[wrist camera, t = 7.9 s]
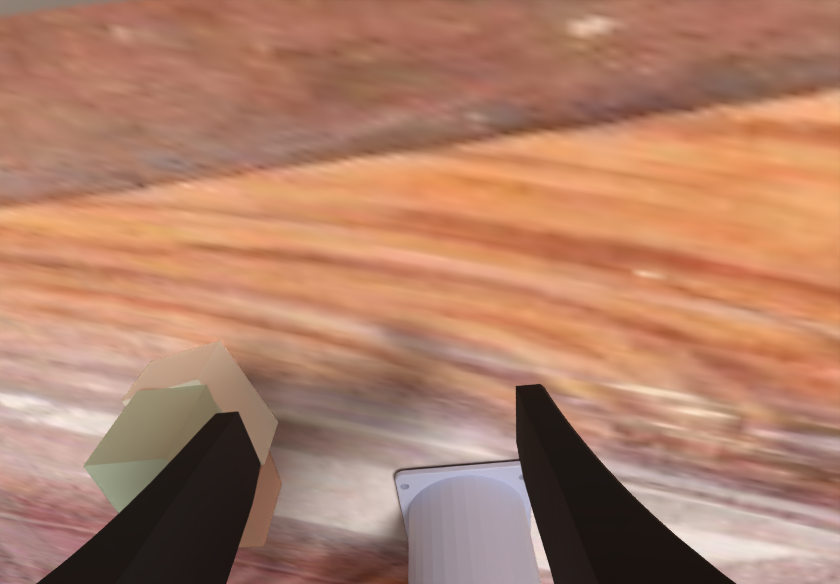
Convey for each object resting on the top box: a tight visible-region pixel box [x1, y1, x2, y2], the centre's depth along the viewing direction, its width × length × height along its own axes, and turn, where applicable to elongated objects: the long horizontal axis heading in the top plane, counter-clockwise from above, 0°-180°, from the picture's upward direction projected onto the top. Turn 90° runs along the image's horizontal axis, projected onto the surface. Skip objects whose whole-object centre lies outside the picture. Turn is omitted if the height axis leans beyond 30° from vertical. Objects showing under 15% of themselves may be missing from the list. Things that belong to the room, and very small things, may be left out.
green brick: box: [84, 384, 220, 514], centre depth 21 cm, size 6×3×4 cm, turn 7°
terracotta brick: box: [238, 451, 282, 548], centre depth 27 cm, size 6×3×4 cm, turn 95°
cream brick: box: [121, 340, 278, 465], centre depth 24 cm, size 6×4×3 cm, turn 19°
